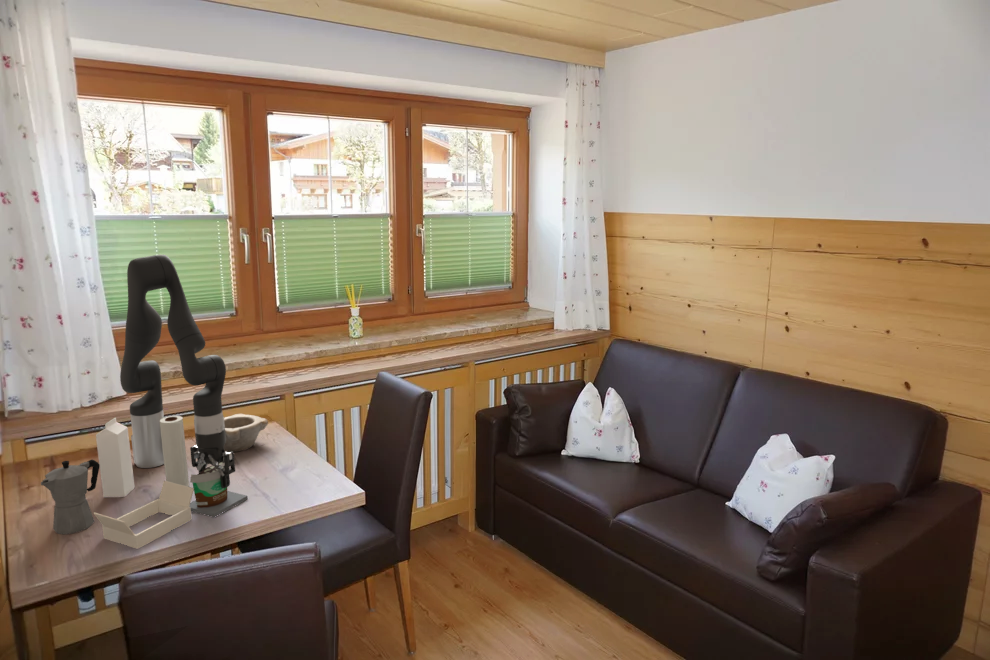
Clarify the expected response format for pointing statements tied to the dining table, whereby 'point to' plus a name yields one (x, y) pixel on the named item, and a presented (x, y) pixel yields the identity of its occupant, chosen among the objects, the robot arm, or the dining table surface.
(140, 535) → the carton
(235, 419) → the mortar
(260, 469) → the dining table surface
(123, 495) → the milk
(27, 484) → the dining table surface
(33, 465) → the dining table surface
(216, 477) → the food container
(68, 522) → the coffeepot
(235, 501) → the trivet
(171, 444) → the paper towel roll
